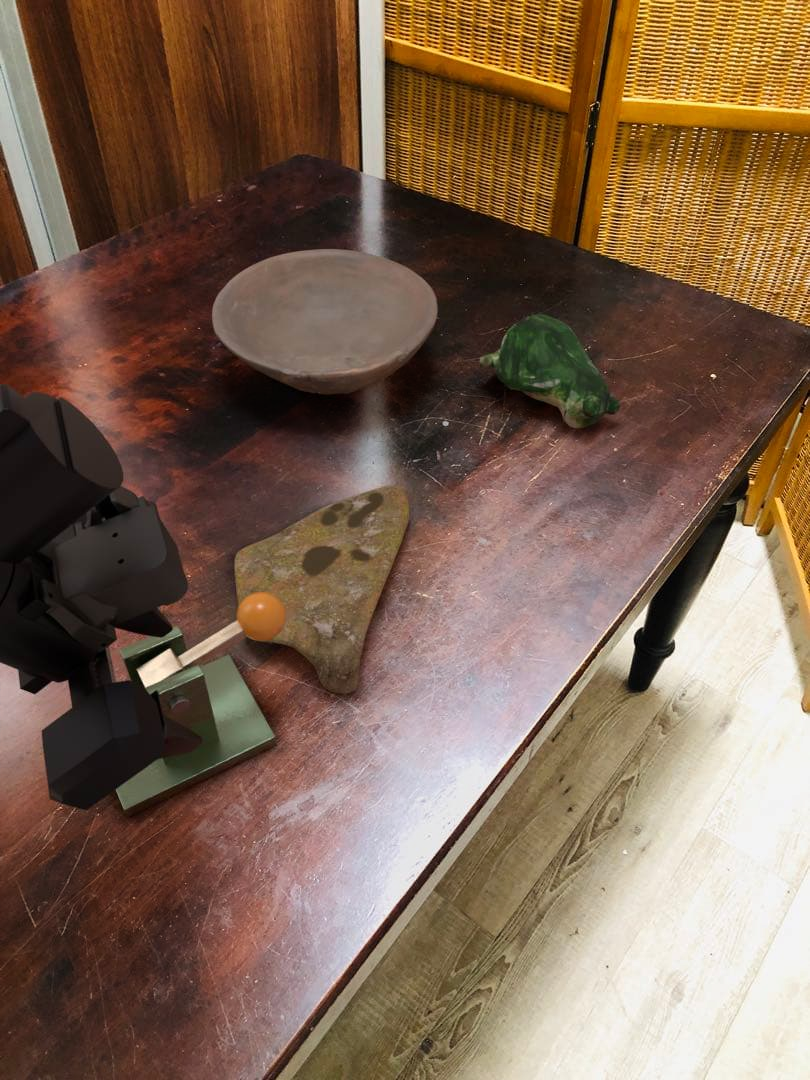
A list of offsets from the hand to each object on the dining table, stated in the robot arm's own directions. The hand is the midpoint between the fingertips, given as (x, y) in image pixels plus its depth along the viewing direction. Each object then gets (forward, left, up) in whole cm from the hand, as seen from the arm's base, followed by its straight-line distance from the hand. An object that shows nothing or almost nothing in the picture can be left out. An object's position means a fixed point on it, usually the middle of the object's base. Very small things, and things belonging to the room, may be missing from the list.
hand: (181, 685), depth 56 cm
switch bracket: (+2, +5, -13) cm, 14 cm away
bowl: (+45, +30, -14) cm, 55 cm away
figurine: (+57, +7, -14) cm, 59 cm away
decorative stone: (+21, +9, -14) cm, 26 cm away
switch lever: (+6, +3, -6) cm, 9 cm away
